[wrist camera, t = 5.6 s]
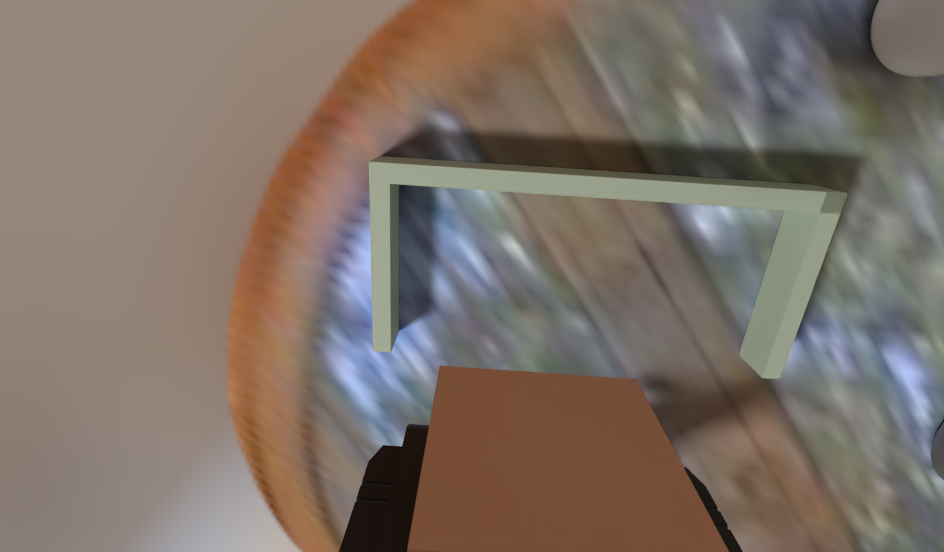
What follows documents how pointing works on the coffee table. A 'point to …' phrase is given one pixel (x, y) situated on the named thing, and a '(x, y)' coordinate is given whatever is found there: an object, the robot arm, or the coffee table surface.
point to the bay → (792, 253)
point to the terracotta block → (552, 469)
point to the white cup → (909, 36)
